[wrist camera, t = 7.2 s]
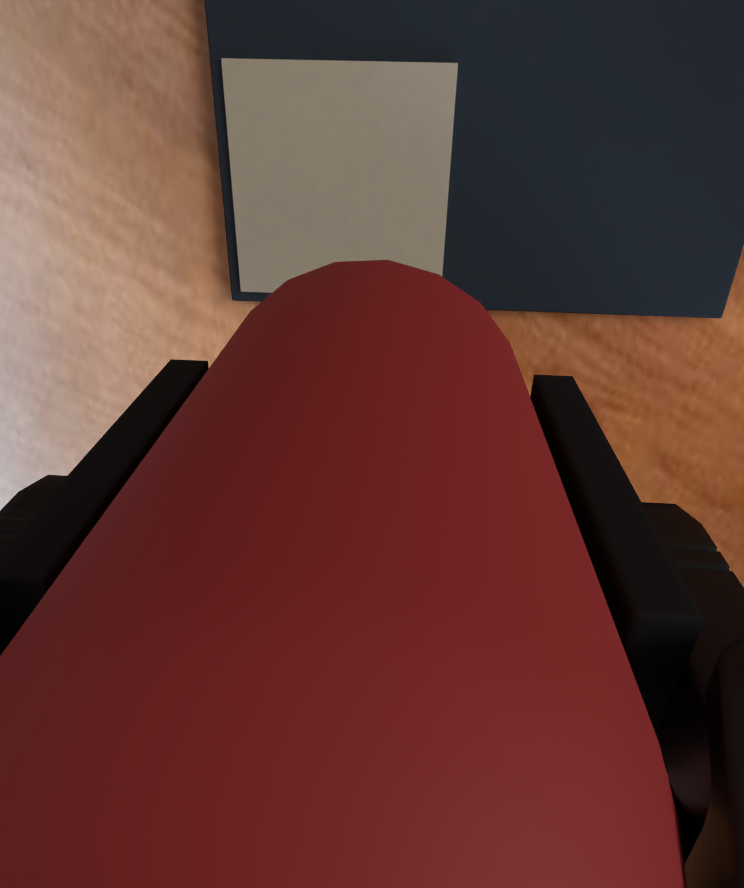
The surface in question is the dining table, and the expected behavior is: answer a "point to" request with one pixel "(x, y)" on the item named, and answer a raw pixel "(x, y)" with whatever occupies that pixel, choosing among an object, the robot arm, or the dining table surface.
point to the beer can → (336, 633)
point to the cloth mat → (487, 146)
